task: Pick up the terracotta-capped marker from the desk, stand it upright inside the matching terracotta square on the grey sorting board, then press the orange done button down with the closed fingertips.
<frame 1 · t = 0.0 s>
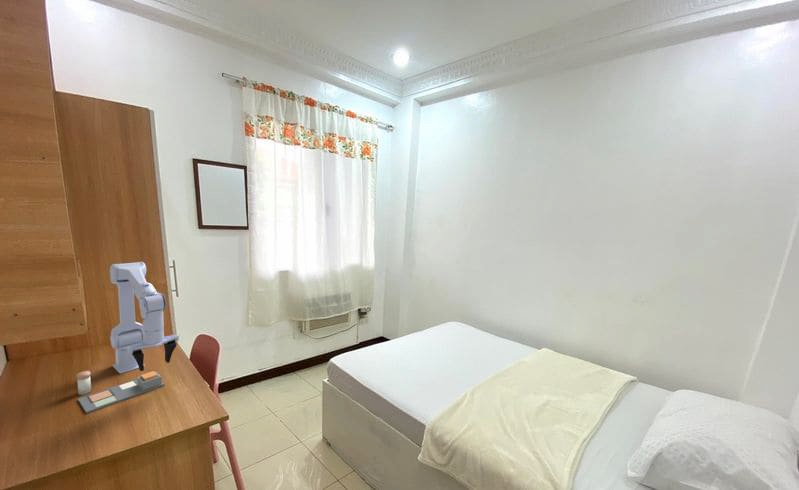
hand: (154, 365, 112), 10 cm above the table, tool pointing down, fingers open, 7 cm apart
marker: (84, 392, 111), on the table
done button: (149, 377, 116), point 3 cm above the table, slide at 0.0 cm
grey sorting board: (123, 392, 112), on the table
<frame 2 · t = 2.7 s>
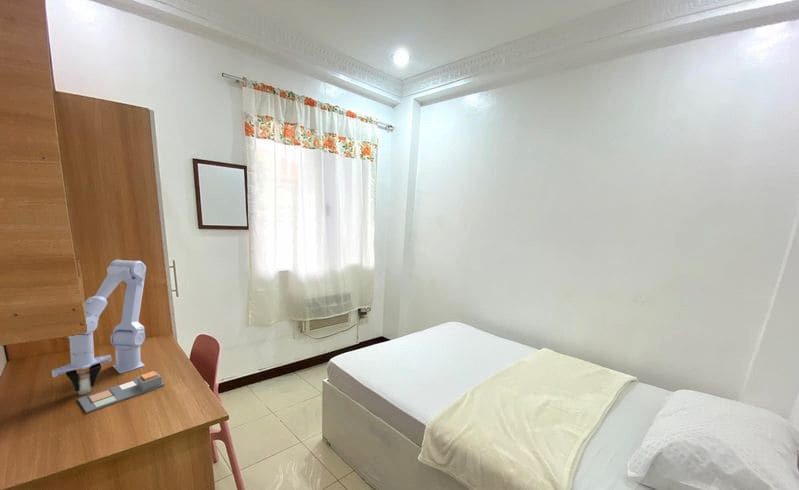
hand: (84, 387, 111), 2 cm above the table, tool pointing down, fingers closed on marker, 3 cm apart
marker: (84, 392, 111), on the table, touching gripper
everything else where it was.
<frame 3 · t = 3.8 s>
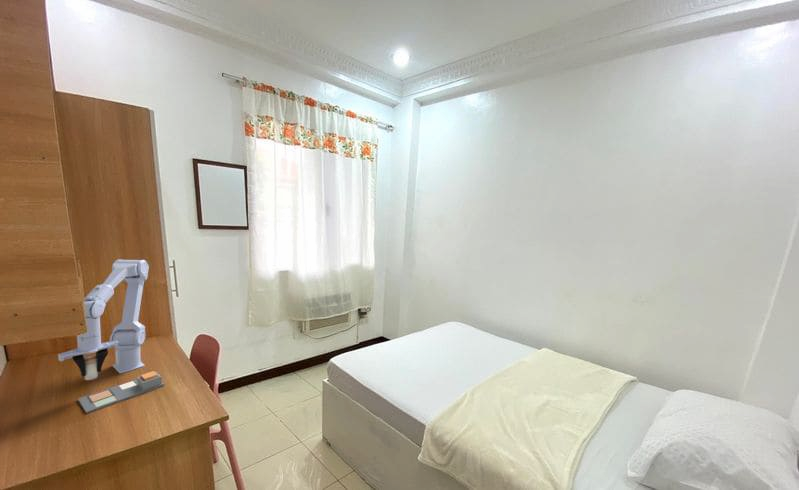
hand: (91, 373, 109), 8 cm above the table, tool pointing down, fingers closed on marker, 3 cm apart
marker: (91, 377, 109), point 6 cm above the table, touching gripper
everything else where it was.
when the fingers open (3 cm above the table, at t = 5.2 s): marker drops 1 cm, resting on grey sorting board.
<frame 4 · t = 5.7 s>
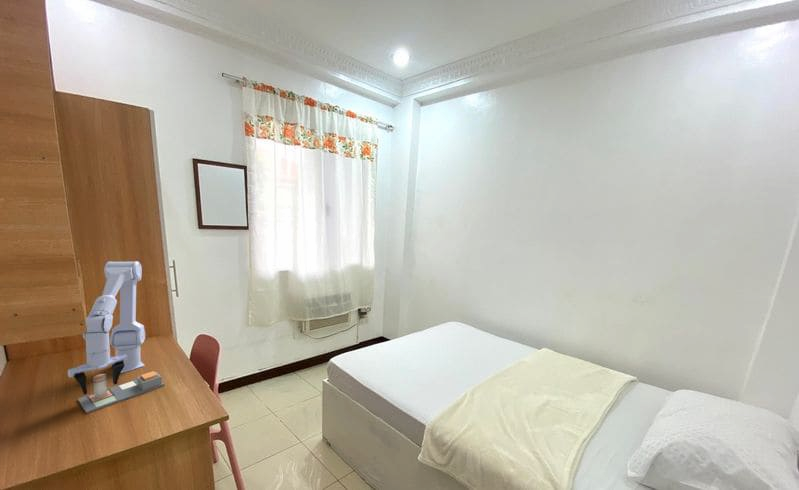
hand: (100, 388, 108), 3 cm above the table, tool pointing down, fingers open, 7 cm apart
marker: (100, 395, 108), point 1 cm above the table, touching grey sorting board
everything else where it was.
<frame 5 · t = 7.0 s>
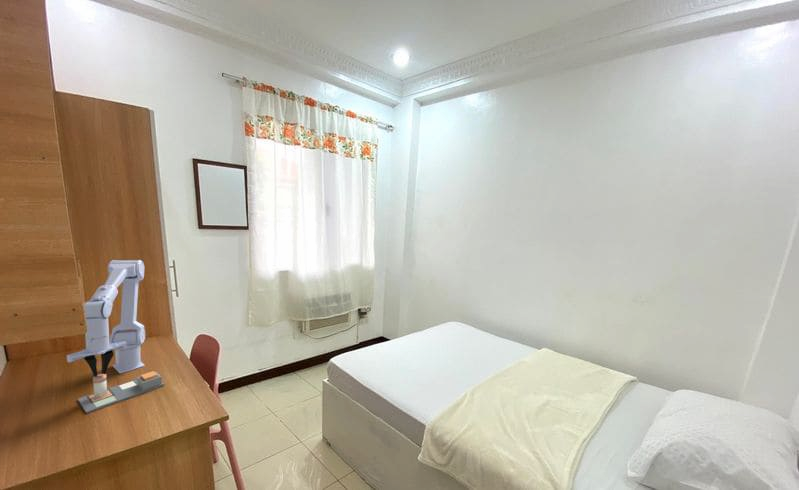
hand: (99, 374, 107), 8 cm above the table, tool pointing down, fingers closed
nothing on the table moved.
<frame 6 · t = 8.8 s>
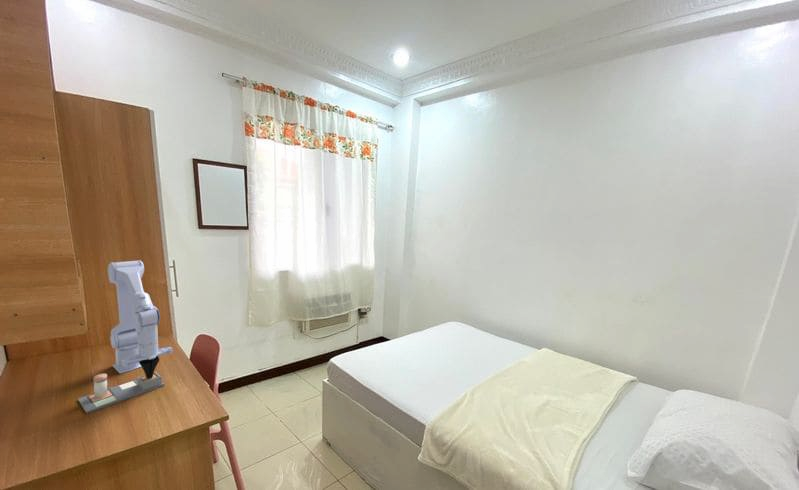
hand: (149, 377, 116), 3 cm above the table, tool pointing down, fingers closed, pressing on done button
done button: (149, 380, 116), point 2 cm above the table, slide at 1.0 cm, touching gripper
everything else where it was.
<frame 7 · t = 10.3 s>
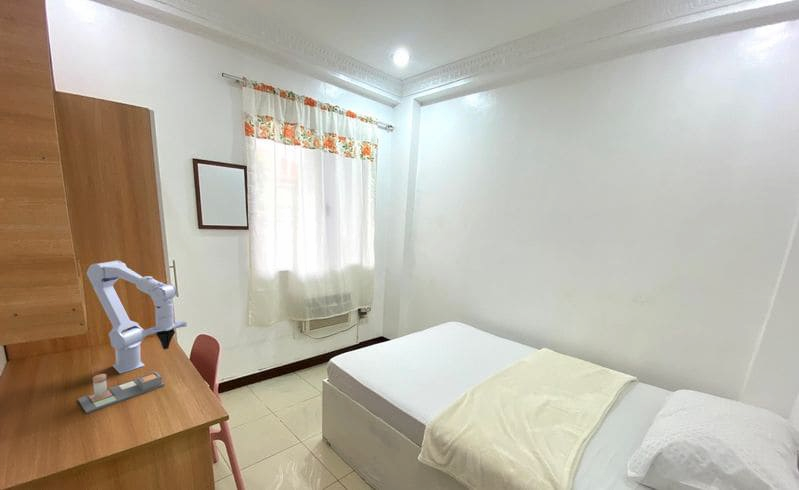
hand: (165, 348, 126), 9 cm above the table, tool pointing down, fingers closed
done button: (149, 380, 116), point 2 cm above the table, slide at 1.0 cm
everything else where it was.
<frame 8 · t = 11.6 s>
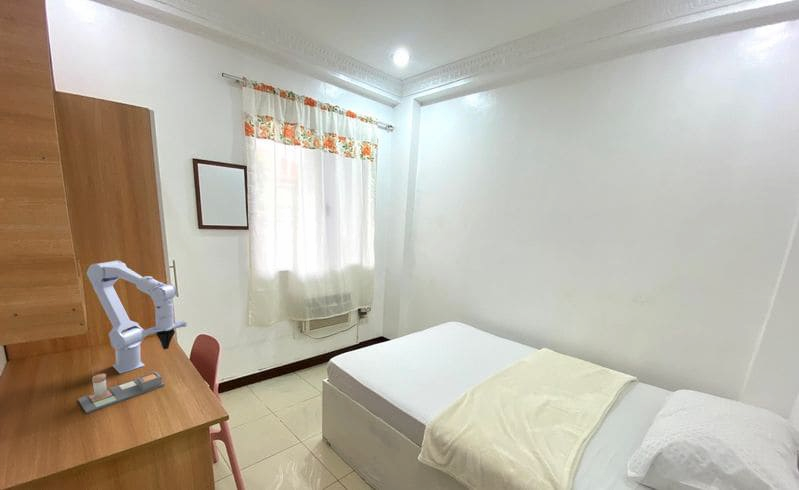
hand: (165, 348, 126), 9 cm above the table, tool pointing down, fingers closed
nothing on the table moved.
at the end: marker 0.0 cm from the target spot on the grey sorting board, point 0.7 cm above the grey sorting board's base; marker tilted 2°; done button slide at 1.0 cm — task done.
